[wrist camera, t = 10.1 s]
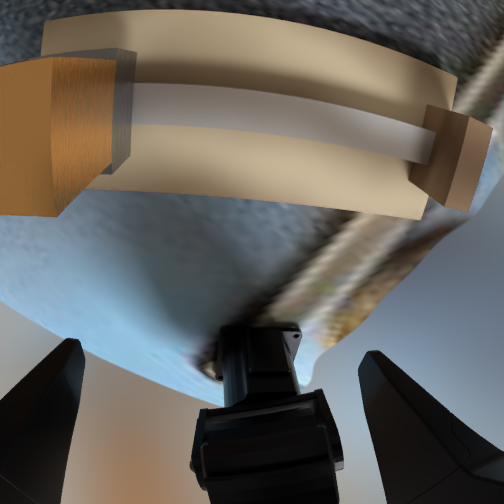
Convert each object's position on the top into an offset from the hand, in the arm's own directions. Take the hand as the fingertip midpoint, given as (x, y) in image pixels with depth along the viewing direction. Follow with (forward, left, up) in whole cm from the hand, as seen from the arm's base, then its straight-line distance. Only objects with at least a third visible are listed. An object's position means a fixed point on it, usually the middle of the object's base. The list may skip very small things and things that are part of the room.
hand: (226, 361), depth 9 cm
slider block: (+6, +7, -9) cm, 13 cm away
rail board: (+6, -1, -12) cm, 13 cm away
